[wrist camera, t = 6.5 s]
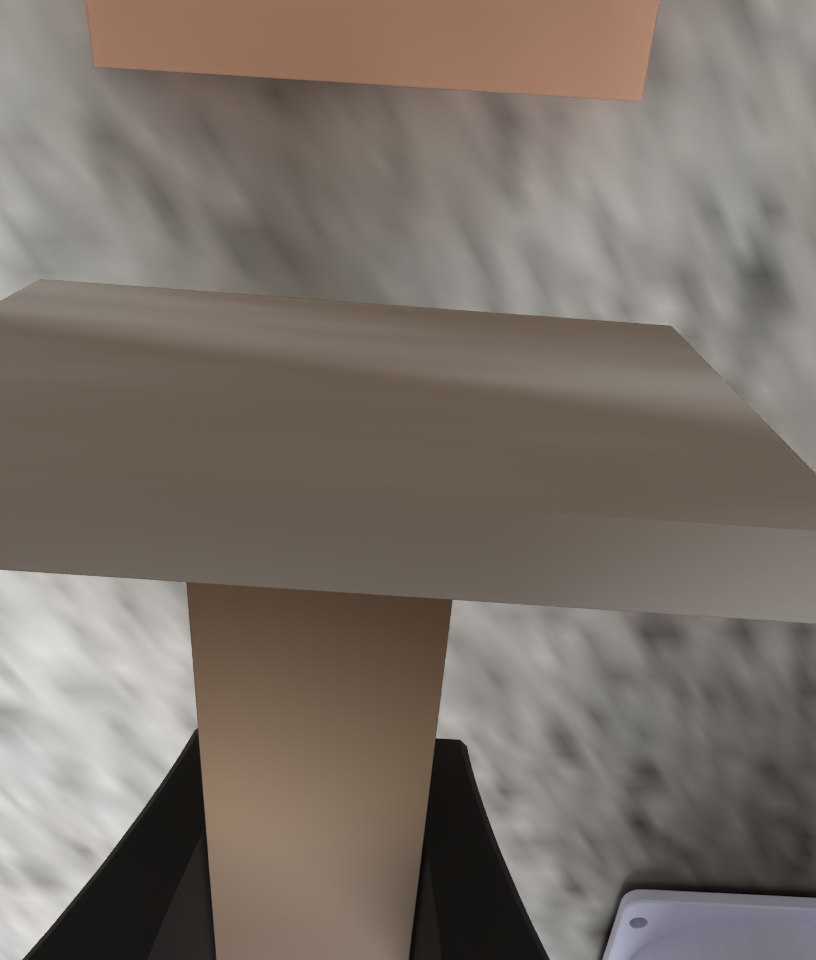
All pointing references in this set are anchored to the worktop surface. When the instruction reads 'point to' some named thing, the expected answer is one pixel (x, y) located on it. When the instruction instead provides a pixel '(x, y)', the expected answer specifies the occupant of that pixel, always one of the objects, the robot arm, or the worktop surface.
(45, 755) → the worktop surface
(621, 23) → the tile
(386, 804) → the scraper
